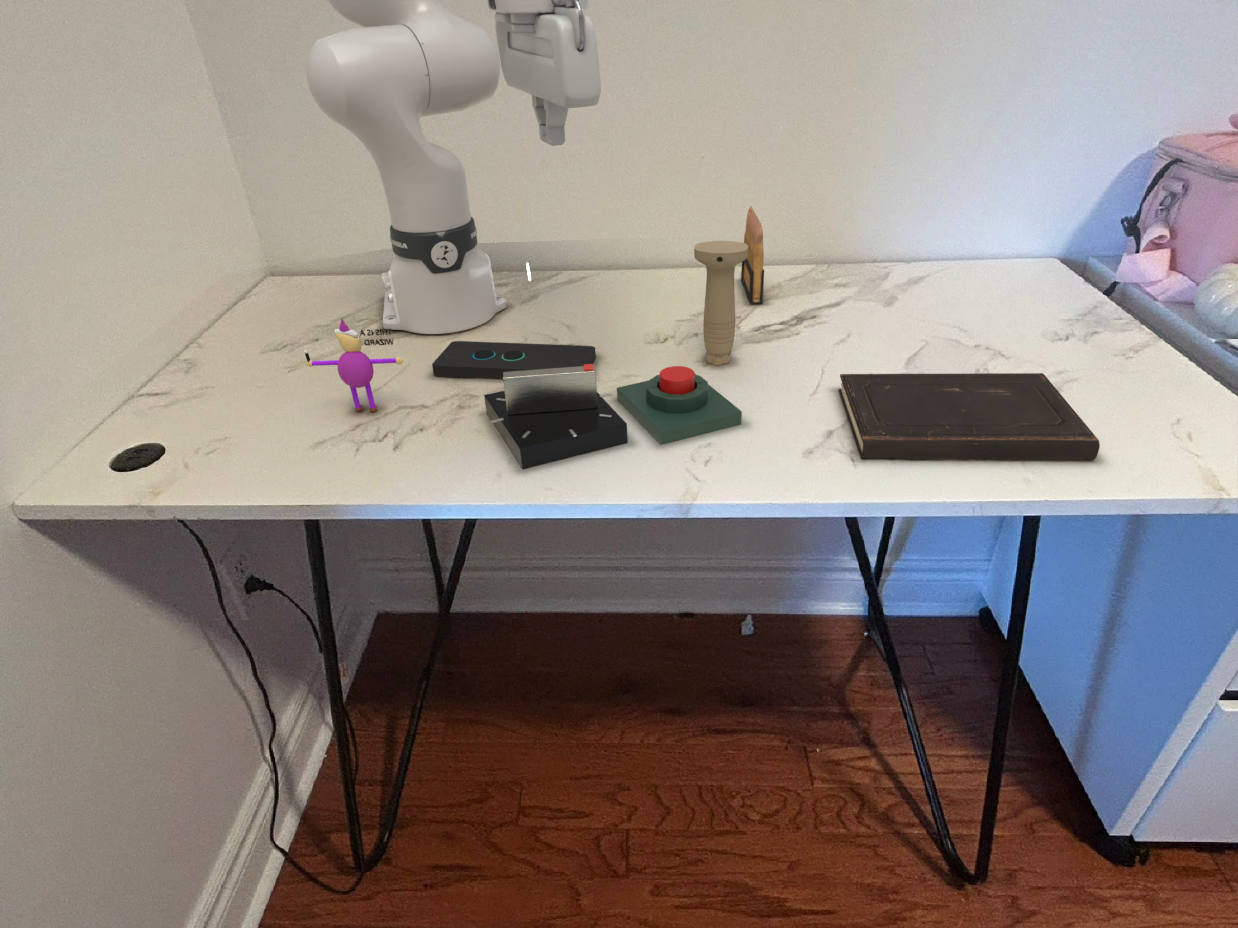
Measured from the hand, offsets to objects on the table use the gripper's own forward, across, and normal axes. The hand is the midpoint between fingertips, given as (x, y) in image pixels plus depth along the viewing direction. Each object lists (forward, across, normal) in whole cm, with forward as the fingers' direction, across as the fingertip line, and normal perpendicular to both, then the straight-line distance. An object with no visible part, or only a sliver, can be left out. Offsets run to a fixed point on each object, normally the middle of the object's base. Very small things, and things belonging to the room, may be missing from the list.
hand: (552, 143), depth 86 cm
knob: (+26, -8, +5) cm, 28 cm away
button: (+26, -11, -9) cm, 29 cm away
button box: (+29, -11, -9) cm, 32 cm away
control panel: (+29, -8, +5) cm, 30 cm away
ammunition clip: (+29, +19, -37) cm, 51 cm away
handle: (+29, -1, -20) cm, 35 cm away
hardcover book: (+29, -28, -35) cm, 53 cm away
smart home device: (+29, +10, +4) cm, 31 cm away
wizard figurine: (+29, +6, +24) cm, 38 cm away
